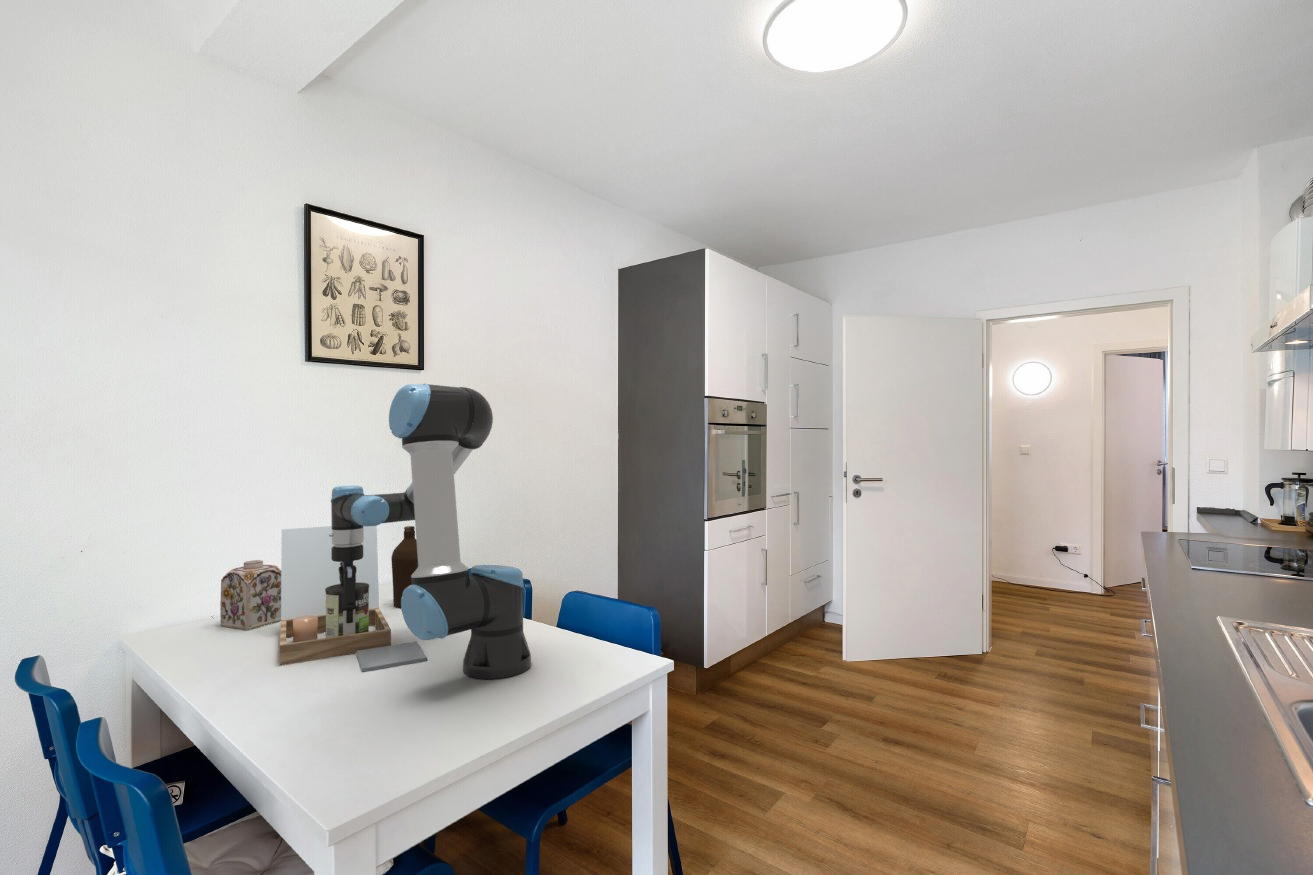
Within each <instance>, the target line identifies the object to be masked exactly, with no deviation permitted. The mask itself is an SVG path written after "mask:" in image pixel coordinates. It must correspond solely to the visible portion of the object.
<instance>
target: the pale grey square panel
mask: <svg viewBox="0 0 1313 875" xmlns="http://www.w3.org/2000/svg"><path fill="white" fill-rule="evenodd" d="M377 526H378V525H377ZM377 526H368V527H367V526H363V527H364V541H363V543H361V544H362V545H363V558H362V559H360V560H355V561H353V566H354V565H355V567H356V570H357V571H356V583H357V582H359V583H367V584H369V609H375V608H379V609H380V601H379V600H380V595H379V594H380V592H379V564H378V563H379V562H378V560H379V559H378V533H377V531H378V529H377ZM329 533H333V532H332V525H329V526H316V527H315V526H313V527H297V528H283V529H281V548H280V549H281V552H280V553H281V554H280V555H281V556H280V557H281V559H280V560H281V564H280V565H281V567H280V570H281V620H289V619H295V618H298V617H302V616H320V615H326V592H325V589H326V588H327V587H329V586H333V585H337V584H340V579H339V567H341V565H340V562H335V561H332V559H331V548H332V547H333V546H334V545H333V544H332V537H329Z"/></svg>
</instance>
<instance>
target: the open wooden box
mask: <svg viewBox="0 0 1313 875" xmlns="http://www.w3.org/2000/svg"><path fill="white" fill-rule="evenodd" d="M317 617H318V634H323V633H324V632H325V633H326V615H320V616H317ZM373 626H374V627H375V629H376V630H369V632H363V633H356V634H349V635H342V636H335V637H329V638H326V637H324V638H322V637H321V638H318V639H315V640H308V641H301V642H294V643H293V642H289V643H287V639H288V638H293V619H289V620H281V621H280V633H279V635H280V636H279V666H285V664H286V665H291V664H296V663H297V664H298V663H303V662H310V661H317V660H321V659H322V660H323V659H329V658H335V657H342V656H347V655H353V654H356V651H359V650H365V649H371V648H378V647H384V646H390V645H392V629H391V627H390V625H389V623H388V621H387V620H386V618H385V616H384V614H383V612H382V611H381V608H380V607H379V608H375V609H369V627H373Z"/></svg>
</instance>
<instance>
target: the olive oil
mask: <svg viewBox="0 0 1313 875" xmlns="http://www.w3.org/2000/svg"><path fill="white" fill-rule="evenodd" d="M403 529H404V531H403V539H401V542H400V543H398V545H397V546H395V548H394V549H393V550H392V552H391V553H392V554H391V559H390V560H391V573H392V574H391V575H392V576H391V577H392V578H391V579H392V596H393V597H392V598H393V599H392V600H393V601H392V602H393V607H394V608H397V609H401V598H402V596H403V595H402V594H403V591H404V590H405V589H406V588H407V587H408V586H410V585H412V580H411V575H412V574H413V573H414V572H415V571H416V569H417V568H418V555H417V541H416V527H415V526H414V525H413V526H412V525H407V526H404V528H403Z"/></svg>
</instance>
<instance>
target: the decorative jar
mask: <svg viewBox="0 0 1313 875" xmlns="http://www.w3.org/2000/svg"><path fill="white" fill-rule="evenodd" d="M219 601H220V607H219V608H220V609H219V610H220V617H219V618H220V626H221V627H225V628H230V629H236V630H242V629H243V631H250V629H251V630H254V629H257V628H261V626H262V627H265V626H268V624H269V625H272V624H275V623H274V622H276V623H279V622H281V568H280V567H279V566H278V565H272V564H264V560H262V559H253V560H245V561H244V562H243V566H240V567H234V568H232V569H230V570H229V571H228V572H226V574H225V575H224V576H222V578H221V579H220V600H219ZM271 623H272V624H271ZM264 625H265V626H264Z"/></svg>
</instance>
